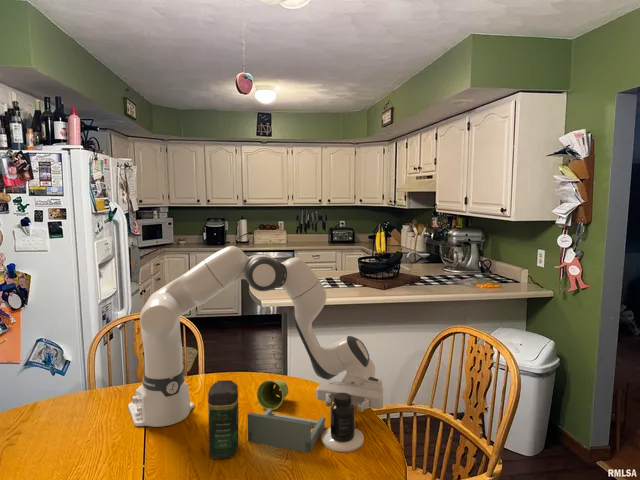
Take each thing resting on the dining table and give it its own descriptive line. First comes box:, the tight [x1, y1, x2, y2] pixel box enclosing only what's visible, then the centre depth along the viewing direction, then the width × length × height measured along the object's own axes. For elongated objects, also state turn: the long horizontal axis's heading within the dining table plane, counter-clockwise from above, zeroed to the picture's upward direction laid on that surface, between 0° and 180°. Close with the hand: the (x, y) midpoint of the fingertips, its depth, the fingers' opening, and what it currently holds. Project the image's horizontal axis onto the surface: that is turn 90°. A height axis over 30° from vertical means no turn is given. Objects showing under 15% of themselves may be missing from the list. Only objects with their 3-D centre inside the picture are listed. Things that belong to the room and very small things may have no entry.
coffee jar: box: [207, 379, 240, 460], centre depth 119 cm, size 10×8×19 cm
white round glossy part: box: [320, 426, 365, 453], centre depth 126 cm, size 12×12×1 cm
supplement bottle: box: [330, 393, 356, 442], centre depth 125 cm, size 7×7×12 cm
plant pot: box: [256, 379, 289, 411], centre depth 147 cm, size 9×9×9 cm
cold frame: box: [247, 408, 326, 454], centre depth 128 cm, size 14×18×8 cm
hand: (343, 406), depth 125 cm, fingers open, 8 cm apart
